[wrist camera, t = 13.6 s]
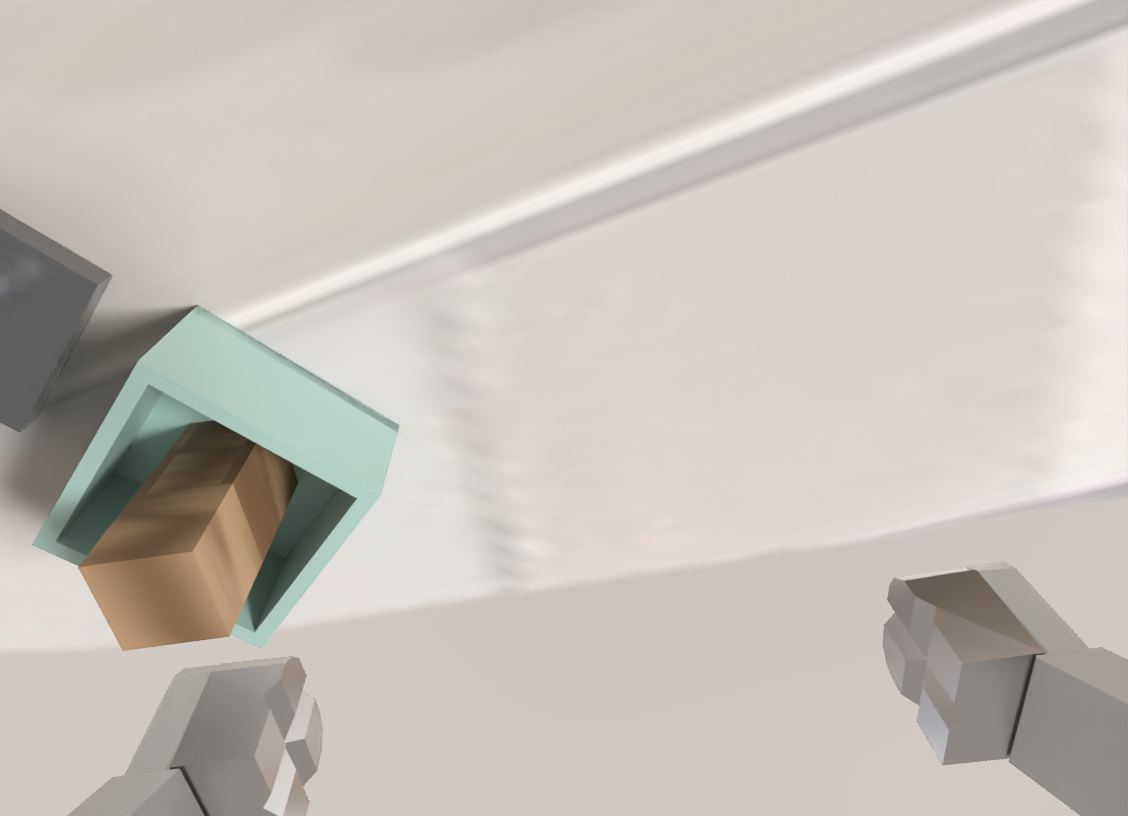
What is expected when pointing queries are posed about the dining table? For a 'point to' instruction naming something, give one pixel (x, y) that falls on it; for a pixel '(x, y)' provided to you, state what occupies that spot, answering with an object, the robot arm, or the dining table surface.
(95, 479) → the sage bin
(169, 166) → the dining table surface
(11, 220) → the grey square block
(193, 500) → the walnut strut
